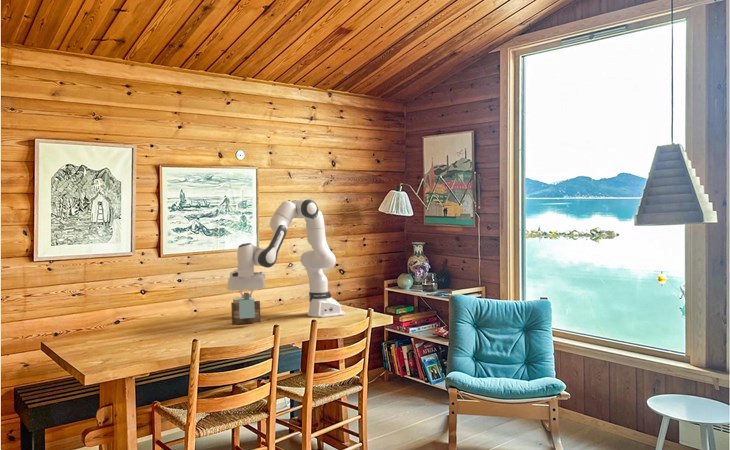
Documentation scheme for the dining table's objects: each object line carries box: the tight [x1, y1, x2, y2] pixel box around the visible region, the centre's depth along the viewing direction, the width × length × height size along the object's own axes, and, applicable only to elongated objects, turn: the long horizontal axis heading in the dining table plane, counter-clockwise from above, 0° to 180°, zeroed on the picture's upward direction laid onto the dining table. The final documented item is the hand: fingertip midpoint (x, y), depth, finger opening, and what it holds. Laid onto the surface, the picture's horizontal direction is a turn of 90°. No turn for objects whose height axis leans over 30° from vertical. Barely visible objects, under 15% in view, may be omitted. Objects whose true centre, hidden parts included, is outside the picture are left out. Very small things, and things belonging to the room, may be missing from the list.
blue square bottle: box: [239, 292, 255, 319], centre depth 326 cm, size 8×9×14 cm
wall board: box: [230, 300, 261, 325], centre depth 334 cm, size 16×6×12 cm, turn 105°
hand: (246, 297), depth 324 cm, fingers closed on blue square bottle, 2 cm apart
